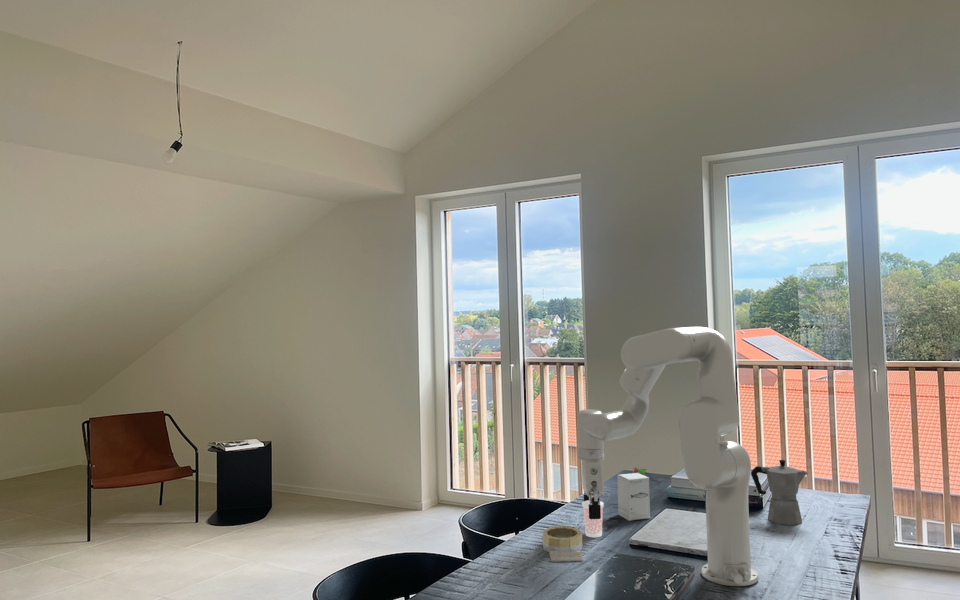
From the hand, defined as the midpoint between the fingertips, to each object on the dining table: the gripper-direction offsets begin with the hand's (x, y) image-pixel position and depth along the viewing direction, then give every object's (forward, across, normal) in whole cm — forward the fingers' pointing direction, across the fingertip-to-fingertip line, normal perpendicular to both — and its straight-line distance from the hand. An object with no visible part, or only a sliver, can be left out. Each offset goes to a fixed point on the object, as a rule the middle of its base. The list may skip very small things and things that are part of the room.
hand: (592, 513), depth 189 cm
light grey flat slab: (+6, -13, +10) cm, 17 cm away
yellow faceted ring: (+6, -8, +10) cm, 14 cm away
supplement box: (+6, +16, -15) cm, 23 cm away
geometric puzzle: (+7, +52, -25) cm, 58 cm away
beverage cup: (+6, 0, 0) cm, 6 cm away
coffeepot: (+6, +9, -57) cm, 58 cm away
